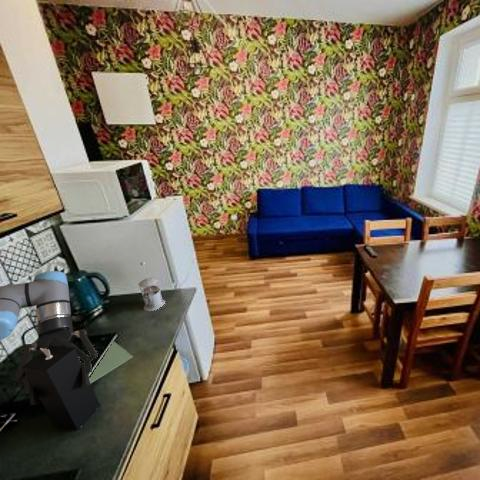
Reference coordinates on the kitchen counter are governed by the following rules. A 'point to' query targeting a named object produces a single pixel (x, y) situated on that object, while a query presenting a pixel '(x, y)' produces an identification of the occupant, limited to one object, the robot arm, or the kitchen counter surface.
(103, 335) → the kitchen counter surface
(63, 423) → the tissue box
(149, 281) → the french press
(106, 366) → the mat
